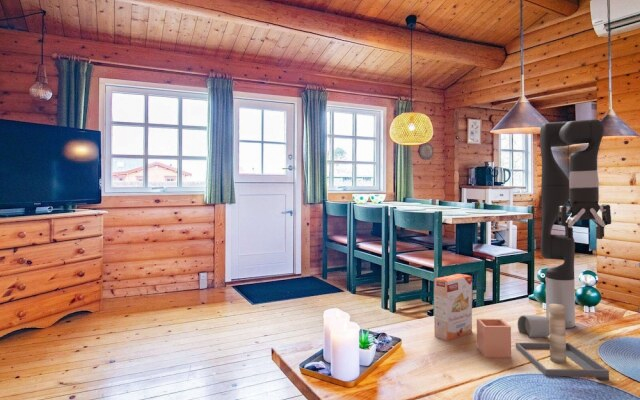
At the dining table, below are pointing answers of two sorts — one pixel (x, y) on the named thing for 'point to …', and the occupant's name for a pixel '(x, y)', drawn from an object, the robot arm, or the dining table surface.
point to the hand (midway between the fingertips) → (584, 239)
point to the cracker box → (452, 306)
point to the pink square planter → (494, 338)
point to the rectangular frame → (575, 355)
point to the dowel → (557, 333)
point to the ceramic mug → (534, 325)
